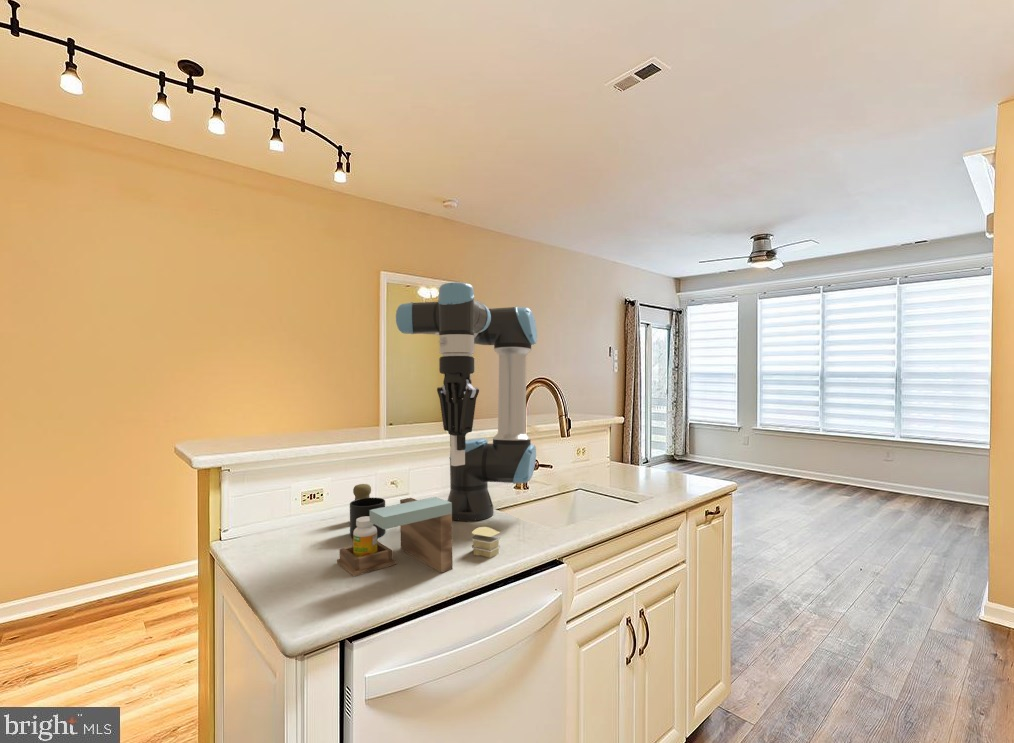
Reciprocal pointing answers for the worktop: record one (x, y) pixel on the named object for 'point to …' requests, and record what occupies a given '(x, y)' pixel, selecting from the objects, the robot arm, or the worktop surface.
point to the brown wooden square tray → (365, 560)
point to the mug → (365, 512)
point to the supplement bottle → (364, 537)
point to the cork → (362, 491)
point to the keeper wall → (429, 540)
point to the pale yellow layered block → (485, 542)
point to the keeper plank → (410, 512)
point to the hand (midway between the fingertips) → (457, 464)
